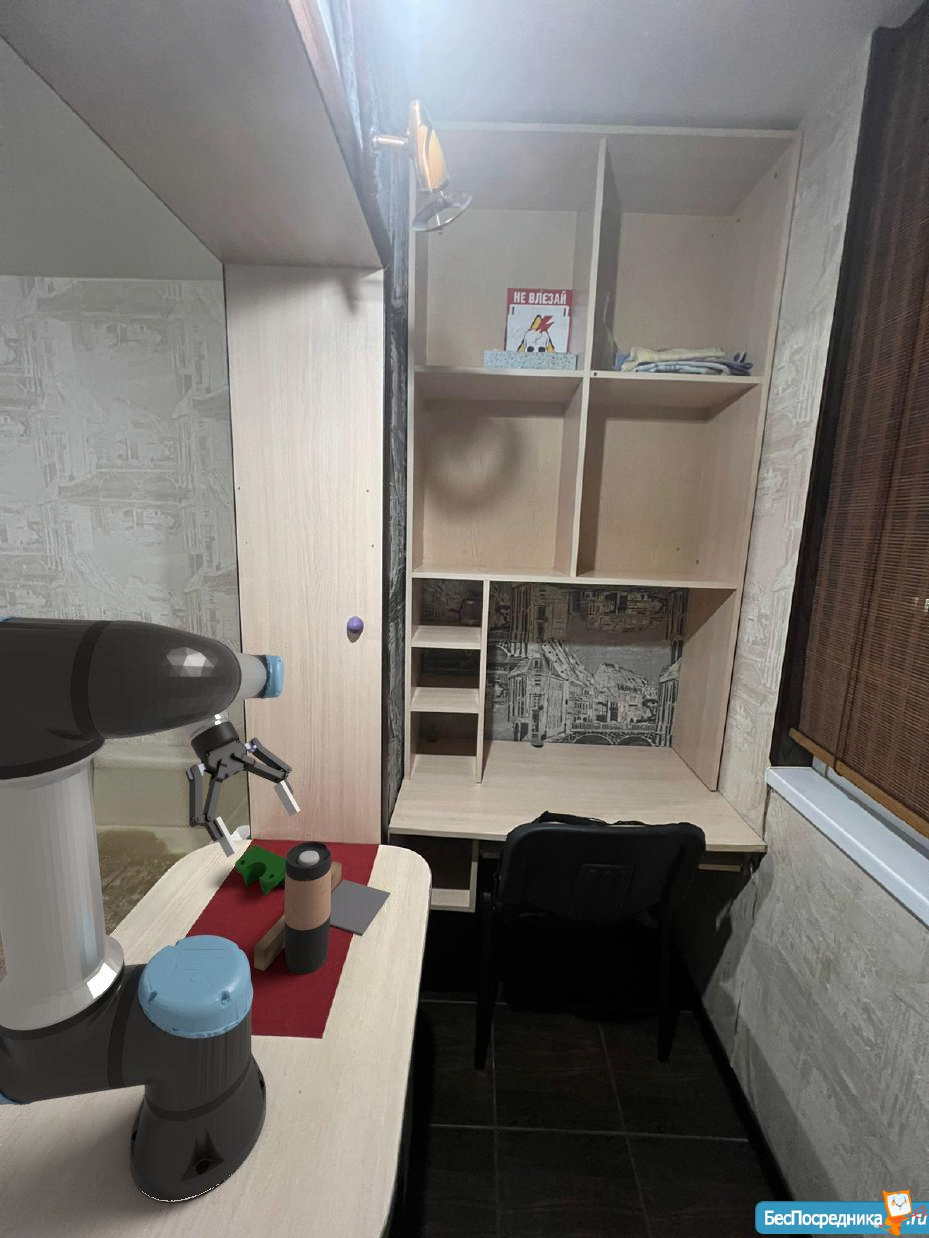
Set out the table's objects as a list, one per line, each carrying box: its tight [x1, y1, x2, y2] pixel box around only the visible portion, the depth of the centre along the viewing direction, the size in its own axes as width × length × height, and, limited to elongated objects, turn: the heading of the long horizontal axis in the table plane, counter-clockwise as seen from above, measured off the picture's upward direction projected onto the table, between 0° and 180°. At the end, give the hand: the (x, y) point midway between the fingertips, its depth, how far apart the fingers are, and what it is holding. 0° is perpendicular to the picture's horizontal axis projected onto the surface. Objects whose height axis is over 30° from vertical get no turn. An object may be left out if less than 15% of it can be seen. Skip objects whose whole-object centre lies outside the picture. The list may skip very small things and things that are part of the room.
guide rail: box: [253, 860, 343, 972], centre depth 100 cm, size 25×2×4 cm, turn 163°
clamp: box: [234, 844, 286, 896], centre depth 109 cm, size 12×6×9 cm, turn 57°
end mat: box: [330, 879, 391, 936], centre depth 104 cm, size 12×11×1 cm
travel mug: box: [283, 840, 333, 975], centre depth 90 cm, size 8×8×20 cm
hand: (266, 832), depth 93 cm, fingers open, 13 cm apart
